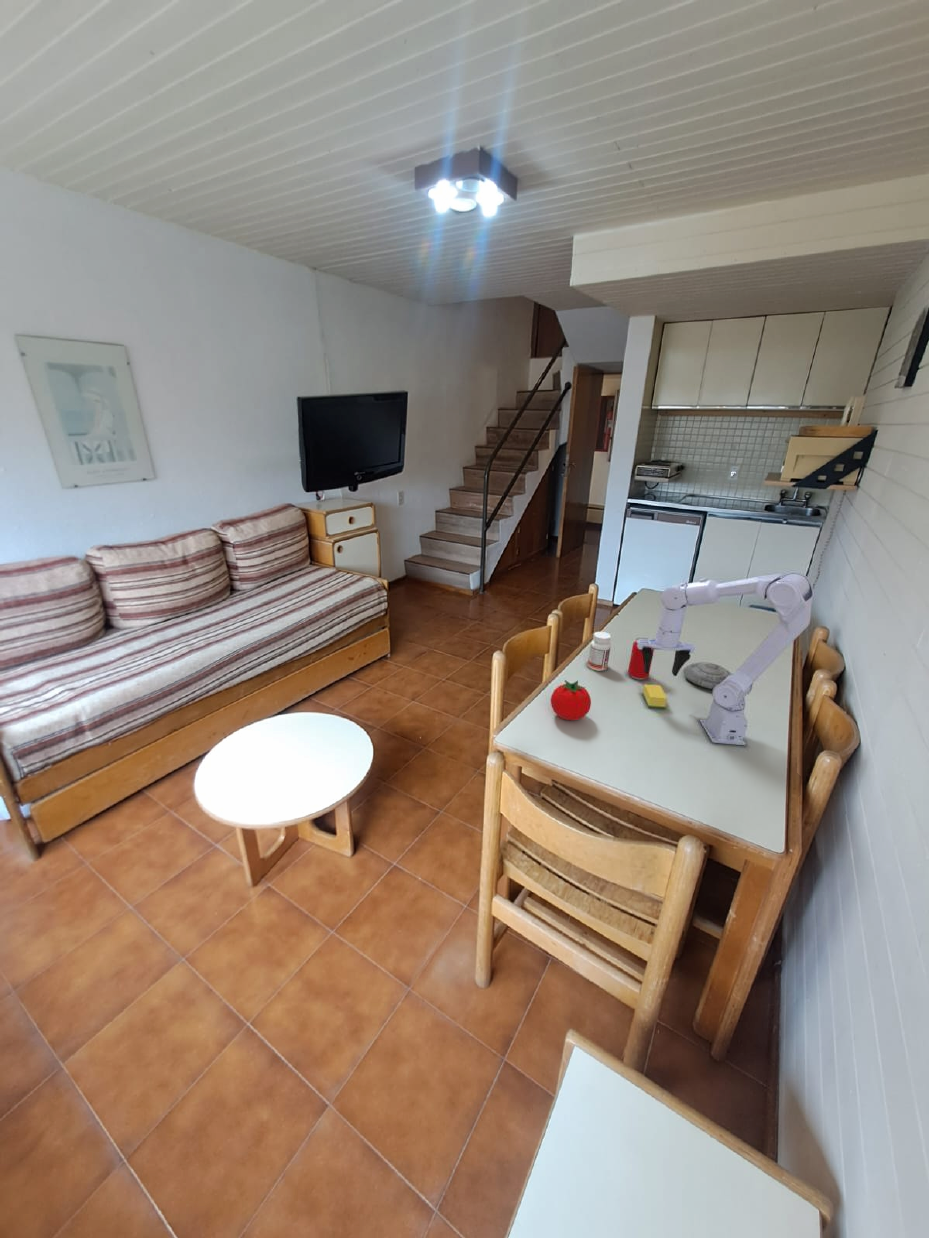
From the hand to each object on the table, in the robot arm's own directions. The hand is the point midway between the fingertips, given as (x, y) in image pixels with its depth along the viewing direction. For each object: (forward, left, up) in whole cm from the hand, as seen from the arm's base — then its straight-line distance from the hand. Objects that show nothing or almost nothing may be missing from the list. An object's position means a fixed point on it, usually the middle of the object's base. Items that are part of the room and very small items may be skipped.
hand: (659, 673), depth 136 cm
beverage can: (+15, +1, -10) cm, 18 cm away
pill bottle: (+19, +13, -10) cm, 25 cm away
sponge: (0, 0, -9) cm, 9 cm away
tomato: (-11, +25, -10) cm, 29 cm away
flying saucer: (+15, -20, -10) cm, 27 cm away
